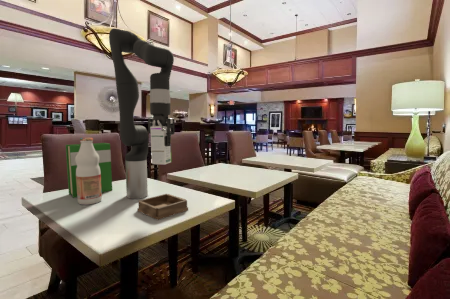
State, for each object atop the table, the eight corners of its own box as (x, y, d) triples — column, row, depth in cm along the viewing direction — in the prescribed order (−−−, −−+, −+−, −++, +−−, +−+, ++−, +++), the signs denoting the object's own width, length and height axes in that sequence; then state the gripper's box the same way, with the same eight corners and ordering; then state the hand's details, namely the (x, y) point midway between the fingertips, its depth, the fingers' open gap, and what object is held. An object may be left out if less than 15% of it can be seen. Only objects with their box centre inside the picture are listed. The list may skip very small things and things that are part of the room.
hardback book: (73, 197, 115) (69, 146, 113) (68, 194, 121) (65, 144, 118) (112, 190, 128) (110, 143, 125) (106, 187, 133) (104, 142, 130)
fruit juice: (72, 204, 106) (68, 138, 103) (89, 197, 115) (85, 137, 112) (91, 206, 104) (87, 138, 101) (106, 199, 113) (103, 137, 110)
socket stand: (137, 210, 99) (137, 200, 98) (167, 202, 109) (167, 193, 108) (157, 220, 89) (157, 209, 89) (188, 209, 100) (188, 200, 99)
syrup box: (165, 164, 94) (164, 125, 92) (151, 164, 95) (150, 125, 93) (171, 162, 99) (171, 125, 98) (158, 161, 101) (157, 125, 99)
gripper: (141, 102, 97) (142, 144, 98) (162, 100, 87) (163, 147, 89) (158, 103, 102) (159, 143, 104) (180, 102, 93) (180, 146, 94)
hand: (161, 145), depth 96 cm, fingers closed on syrup box, 7 cm apart
